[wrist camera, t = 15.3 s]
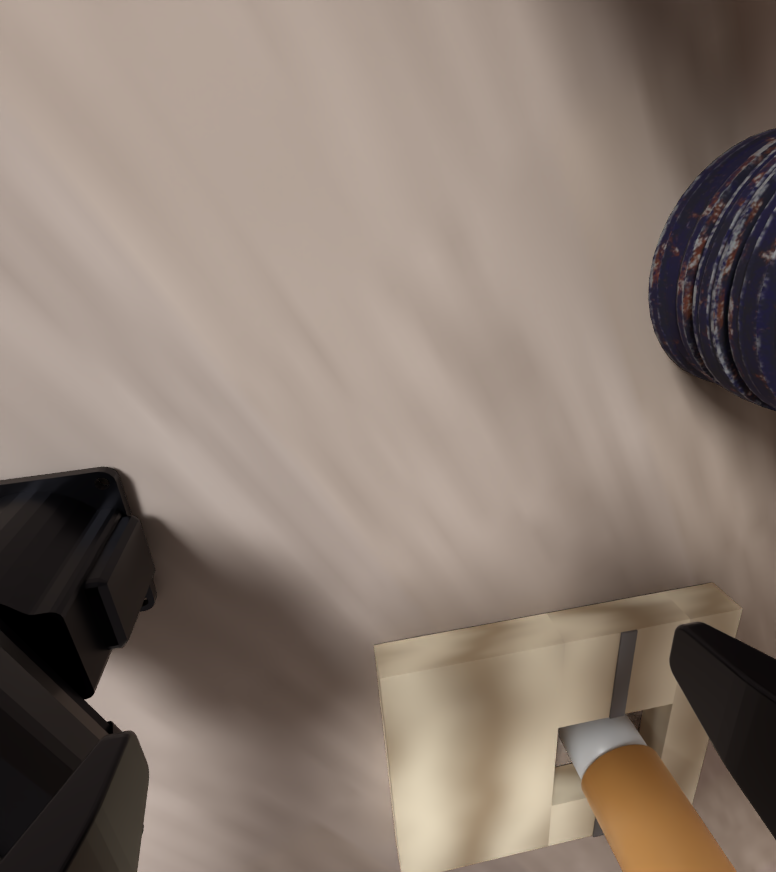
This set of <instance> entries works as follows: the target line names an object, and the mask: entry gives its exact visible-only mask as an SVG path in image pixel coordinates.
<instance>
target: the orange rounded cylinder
mask: <svg viewBox="0 0 776 872" xmlns="http://www.w3.org/2000/svg"><path fill="white" fill-rule="evenodd" d="M558 732H559V737H560V739H561V741H562V743H563V745H564V747H565V749H566V751H567V753H568V755H569V757H570V759H571V761H572V763H573V765H574V767H575V769H576V771H577V773H578V775H579V777H580V779H581V781H582V782H581V788H582V791H583V793H584V795H585V797H586V799H587V801H588V803H589V805H590V807H591V809H592V811H593V813H594V815H595V817H596V819H597V821H598V823H599V825H600V827H601V829H602V831H603V833H604V835H605V837H606V839H607V841H608V843H609V845H610V847H611V849H612V851H613V853H614V855H615V857H616V859H617V861H618V863H619V865H620V867H621V869H622V871H623V872H737V871H736V870H735V868H734V867H733V865H732V864H731V862H730V861H729V860H728V858H727V857H726V855H725V854H724V852H723V851H722V849H721V848H720V846H719V845H718V843H717V842H716V840H715V839H714V837H713V836H712V834H711V833H710V831H709V830H708V828H707V827H706V825H705V824H704V822H703V821H702V819H701V818H700V816H699V815H698V813H697V812H696V810H695V809H694V807H693V806H692V804H691V803H690V801H689V800H688V799H687V797H686V796H685V794H684V793H683V791H682V790H681V788H680V787H679V785H678V784H677V782H676V781H675V779H674V778H673V776H672V775H671V773H670V772H669V770H668V769H667V767H666V766H665V764H664V763H663V761H662V760H661V758H660V757H659V755H658V754H657V752H656V751H655V750H654V749H652V748H651V747H648V746H647V744H646V743H645V741H644V740H643V738H642V737H641V735H640V734H639V732H638V731H637V729H636V728H635V726H634V725H633V723H632V722H631V720H630V719H629V717H628V716H627V714H625V716H621V717H617V718H612V719H610V718H609V717H608V718H603V719H598V720H594V721H589V722H584V723H579V724H575V725H570V726H565V727H561V728H559V730H558Z"/></svg>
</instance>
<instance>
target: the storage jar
mask: <svg viewBox="0 0 776 872" xmlns="http://www.w3.org/2000/svg"><path fill="white" fill-rule="evenodd" d="M649 308H650V317H651V320H652V324H653V328H654V331H655V334H656V336H657V338H658V340H659V342H660V344H661V346H662V348H663V349H664V351H665V352H666V353H667V355H668V356H669V357H670V359H671V360H673V361H674V362H675V363H676V364H677V365H678V366H679V367H681V368H682V369H684V370H685V371H687V372H689V373H691V374H692V375H694V376H697V377H699V378H702V379H704V380H707V381H711V382H714V383H716V384H718V385H720V386H722V387H724V388H725V389H726V390H728V391H730V392H731V393H733V394H735V395H737V396H738V397H740V398H742V399H745V400H747V401H750V402H752V403H754V404H757V405H759V406H762V407H765V408H768V409H771V410H774V411H776V129H771V130H768V131H765V132H762V133H760V134H757V135H754V136H751V137H749V138H747V139H746V140H744V141H742V142H740V143H738V144H737V145H735V146H733V147H731V148H730V149H729V150H727V151H726V152H725V153H723V154H722V155H721V156H719V157H718V158H717V159H715V160H714V161H713V162H712V163H711V164H710V165H709V166H708V167H707V168H706V169H705V170H704V171H703V172H702V173H701V174H700V175H699V176H698V177H697V178H696V179H695V180H694V181H693V183H692V184H691V185H690V186H689V188H688V189H687V190H686V191H685V193H684V194H683V195H682V197H681V198H680V200H679V201H678V203H677V205H676V206H675V208H674V210H673V211H672V213H671V214H670V216H669V218H668V220H667V223H666V225H665V227H664V229H663V231H662V233H661V236H660V238H659V241H658V244H657V248H656V251H655V254H654V257H653V262H652V267H651V272H650V278H649Z"/></svg>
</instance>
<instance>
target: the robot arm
mask: <svg viewBox="0 0 776 872" xmlns="http://www.w3.org/2000/svg"><path fill="white" fill-rule="evenodd" d="M98 478H105V479H107V480H108V481H109V484H108V485H104V484H102V483H100V482H99V480H98ZM154 573H155V567H154V563H153V560H152V557H151V554H150V551H149V547H148V544H147V541H146V538H145V535H144V532H143V528H142V525H141V522H140V520H139V519H138V518H137V517H135V516H134V515H132V514H131V511H130V508H129V505H128V502H127V499H126V496H125V492H124V489H123V486H122V483H121V480H120V477H119V475H118V473H117V472H116V471H115V470H113V469H111V468H108V467H97V468H89V469H82V470H75V471H67V472H60V473H52V474H45V475H37V476H30V477H22V478H15V479H7V480H0V872H137V869H138V861H139V853H140V845H141V838H142V833H143V828H144V825H143V822H144V814H145V807H146V799H147V791H148V783H149V768H148V764H147V761H146V758H145V756H144V753H143V751H142V748H141V746H140V743H139V741H138V738H137V736H136V734H135V733H134V732H133V731H124V732H122V731H121V730H120V729H119V728H118V727H117V726H116V725H115V724H114V723H113V722H112V721H108V722H106V721H105V720H104V719H103V718H102V717H101V716H100V715H99V714H98V713H97V712H96V711H95V710H94V709H93V708H92V707H91V706H90V705H89V704H88V703H87V702H86V701H85V700H84V699H88V698H90V697H92V696H93V694H94V693H95V690H96V688H97V685H98V683H99V681H100V678H101V676H102V673H103V671H104V668H105V666H106V664H107V661H108V659H109V656H110V654H111V651H112V649H117V648H123V646H124V645H125V644H126V643H127V641H128V640H129V638H130V635H131V633H132V630H133V627H134V625H135V622H136V620H137V617H138V614H139V612H141V611H146V610H149V609H150V608H152V607H153V605H154V603H155V600H156V598H157V592H156V589H155V586H154V583H153V580H152V578H153V575H154ZM145 597H146V598H147V599H146V600H144V599H145ZM669 664H670V668H671V671H672V673H673V675H674V677H675V679H676V681H677V683H678V684H679V686H680V688H681V690H682V691H683V693H684V695H685V697H686V698H687V700H688V702H689V704H690V706H691V707H692V709H693V711H694V713H695V714H696V716H697V718H698V720H699V721H700V723H701V725H702V727H703V729H704V730H705V732H706V734H707V736H708V737H709V739H710V741H711V743H712V744H713V746H714V748H715V750H716V751H717V753H718V755H719V756H720V758H721V760H722V761H723V763H724V764H725V766H726V768H727V769H728V771H729V772H730V774H731V775H732V777H733V778H734V780H735V781H736V783H737V784H738V785H739V787H740V788H741V790H742V791H743V793H744V794H745V796H746V797H747V799H748V800H749V802H750V803H751V804H752V806H753V807H754V809H755V810H756V812H757V813H758V815H759V816H760V818H761V819H762V820H763V822H764V823H765V825H766V826H767V828H768V829H769V831H770V832H771V834H772V835H773V837H774V838H775V839H776V659H774V658H772V657H770V656H768V655H766V654H765V653H763V652H761V651H759V650H757V649H755V648H753V647H751V646H749V645H747V644H745V643H743V642H741V641H739V640H737V639H735V638H733V637H731V636H729V635H727V634H726V633H724V632H722V631H720V630H718V629H716V628H714V627H712V626H710V625H708V624H706V623H703V622H691V623H686V624H681V625H678V626H677V627H676V629H675V631H674V636H673V641H672V646H671V652H670V657H669Z"/></svg>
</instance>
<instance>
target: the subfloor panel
mask: <svg viewBox="0 0 776 872" xmlns="http://www.w3.org/2000/svg"><path fill="white" fill-rule="evenodd" d="M742 610H743V609H742V608H741V607H740V606H739V605H738V604H737V603H735V602H734V601H733V600H732V599H731V598H730V597H729V596H728V595H726V594H725V593H724V592H723V591H722V590H721V589H720V588H719V587H717V586H716V585H715V584H714V583H708V584H702V585H697V586H692V587H686V588H681V589H675V590H670V591H664V592H659V593H654V594H648V595H643V596H637V597H632V598H627V599H621V600H616V601H610V602H605V603H599V604H594V605H589V606H583V607H578V608H572V609H567V610H562V611H556V612H551V613H545V614H540V615H534V616H529V617H524V618H518V619H513V620H507V621H502V622H497V623H491V624H486V625H480V626H475V627H470V628H464V629H459V630H453V631H448V632H442V633H437V634H432V635H426V636H421V637H415V638H410V639H405V640H399V641H394V642H388V643H383V644H377V645H374V653H375V662H376V671H377V680H378V688H379V697H380V706H381V715H382V724H383V733H384V741H385V750H386V759H387V768H388V777H389V785H390V794H391V803H392V812H393V821H394V830H395V838H396V846H397V852H398V858H399V864H400V870H401V872H443V871H448V870H452V869H456V868H460V867H464V866H468V865H472V864H477V863H481V862H485V861H489V860H493V859H497V858H501V857H505V856H510V855H514V854H518V853H522V852H526V851H530V850H534V849H539V848H543V847H547V846H551V845H555V844H559V843H563V842H567V841H572V840H576V839H580V838H584V837H588V836H593V837H597V836H601V835H604V833H603V831H602V829H601V827H600V825H599V823H598V821H597V819H596V817H595V815H594V813H593V811H592V809H591V807H590V805H589V803H588V801H587V799H586V797H585V795H584V793H583V791H582V788H581V782H582V781H581V779H580V777H579V775H578V773H577V771H576V769H575V767H574V765H573V763H572V764H568V765H563V766H559V767H555V759H556V748H557V736H558V728H561V727H565V726H570V725H575V724H579V723H584V722H589V721H594V720H598V719H603V718H608V717H609V718H610V719H612V718H617V717H621V716H625V714H626V713H631V712H636V711H640V710H643V712H642V717H641V723H640V729H639V734H640V735H641V737H642V738H643V740H644V741H645V743H646V744H647V746H648V747H651V748H652V749H654V750H655V751H656V752H657V754H658V755H659V757H660V758H661V760H662V761H663V763H664V764H665V766H666V767H667V769H668V770H669V772H670V773H671V775H672V776H673V778H674V779H675V781H676V782H677V784H678V785H679V787H680V788H681V790H682V791H683V793H684V794H685V796H686V797H687V799H688V800H689V801H690V803H691V804H692V803H693V799H694V795H695V791H696V788H697V784H698V780H699V776H700V772H701V768H702V764H703V760H704V757H705V753H706V749H707V745H708V741H709V737H708V736H707V734H706V732H705V730H704V729H703V727H702V725H701V723H700V721H699V720H698V718H697V716H696V714H695V713H694V711H693V709H692V707H691V706H690V704H689V702H688V700H687V698H686V697H685V695H684V693H683V691H682V690H681V688H680V686H679V684H678V683H677V681H676V679H675V677H674V675H673V673H672V671H671V668H670V664H669V657H670V652H671V646H672V641H673V636H674V631H675V629H676V627H677V626H678V625H681V624H686V623H691V622H703V623H706V624H708V625H710V626H712V627H714V628H716V629H718V630H720V631H722V632H724V633H726V634H727V635H729V636H731V637H733V638H735V637H736V633H737V629H738V625H739V621H740V617H741V613H742Z"/></svg>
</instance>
